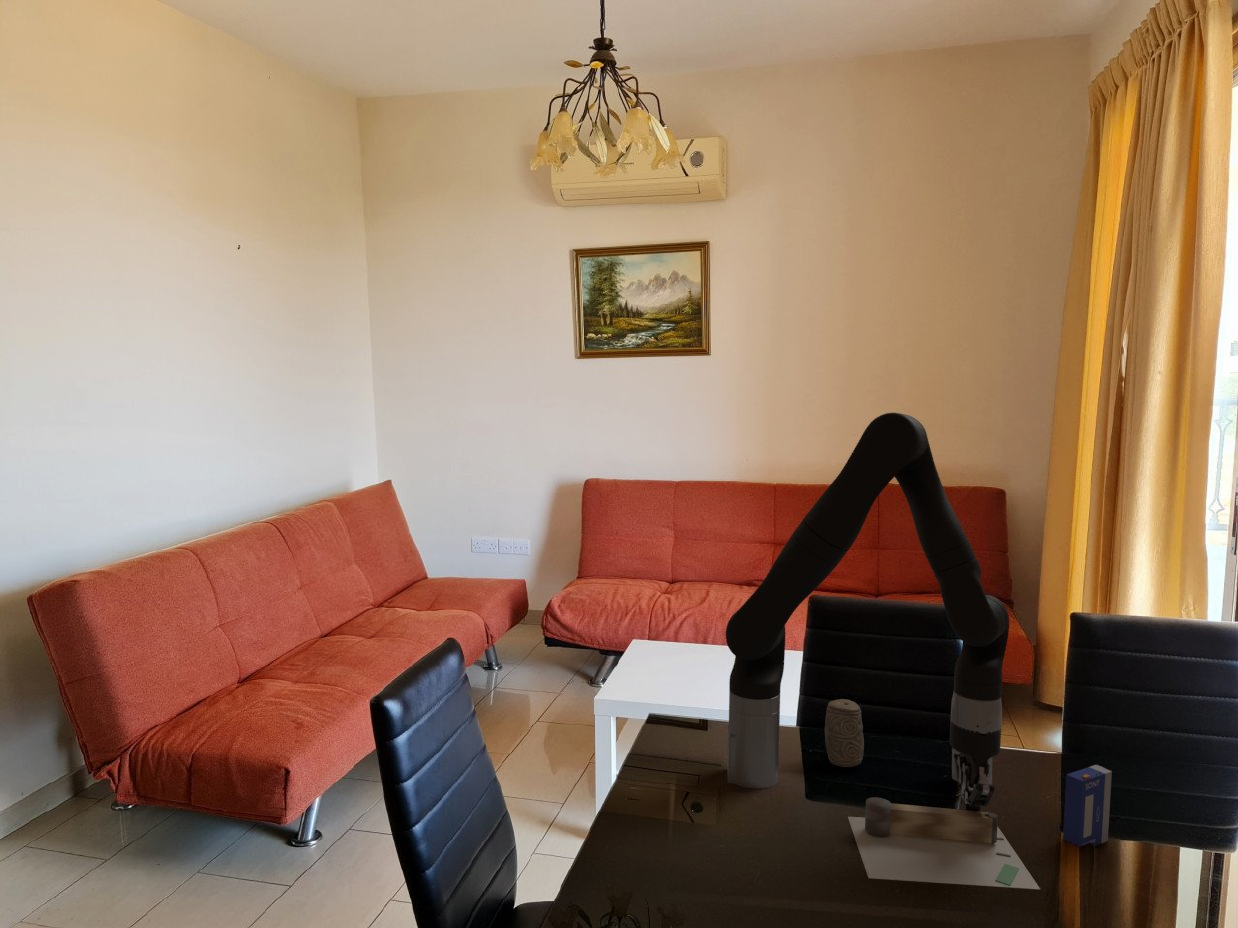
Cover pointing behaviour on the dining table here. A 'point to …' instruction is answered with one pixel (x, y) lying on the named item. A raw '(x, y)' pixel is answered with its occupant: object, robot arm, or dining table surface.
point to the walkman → (1087, 806)
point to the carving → (844, 733)
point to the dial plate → (940, 859)
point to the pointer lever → (929, 822)
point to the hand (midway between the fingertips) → (970, 823)
